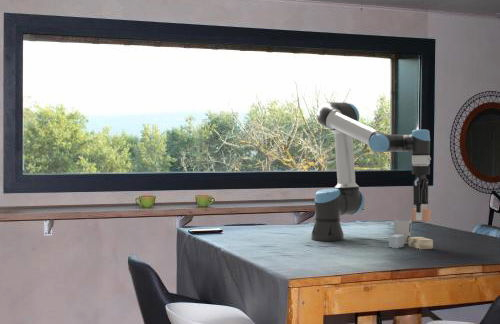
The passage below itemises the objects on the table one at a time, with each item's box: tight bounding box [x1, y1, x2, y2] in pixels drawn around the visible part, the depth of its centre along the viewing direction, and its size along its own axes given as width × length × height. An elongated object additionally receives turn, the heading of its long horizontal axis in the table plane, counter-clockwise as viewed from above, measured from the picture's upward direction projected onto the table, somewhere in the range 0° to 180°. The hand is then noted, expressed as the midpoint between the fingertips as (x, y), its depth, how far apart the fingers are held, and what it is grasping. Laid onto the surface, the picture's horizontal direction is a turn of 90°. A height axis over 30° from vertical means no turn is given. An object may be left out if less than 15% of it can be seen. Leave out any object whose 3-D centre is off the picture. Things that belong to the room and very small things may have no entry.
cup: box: [392, 219, 412, 245], centre depth 303 cm, size 8×8×10 cm
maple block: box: [408, 236, 434, 250], centre depth 291 cm, size 10×6×4 cm, turn 15°
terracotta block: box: [411, 207, 432, 222], centre depth 290 cm, size 7×4×5 cm, turn 56°
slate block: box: [388, 234, 405, 249], centre depth 292 cm, size 7×4×5 cm, turn 146°
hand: (420, 219), depth 290 cm, fingers closed on terracotta block, 4 cm apart
